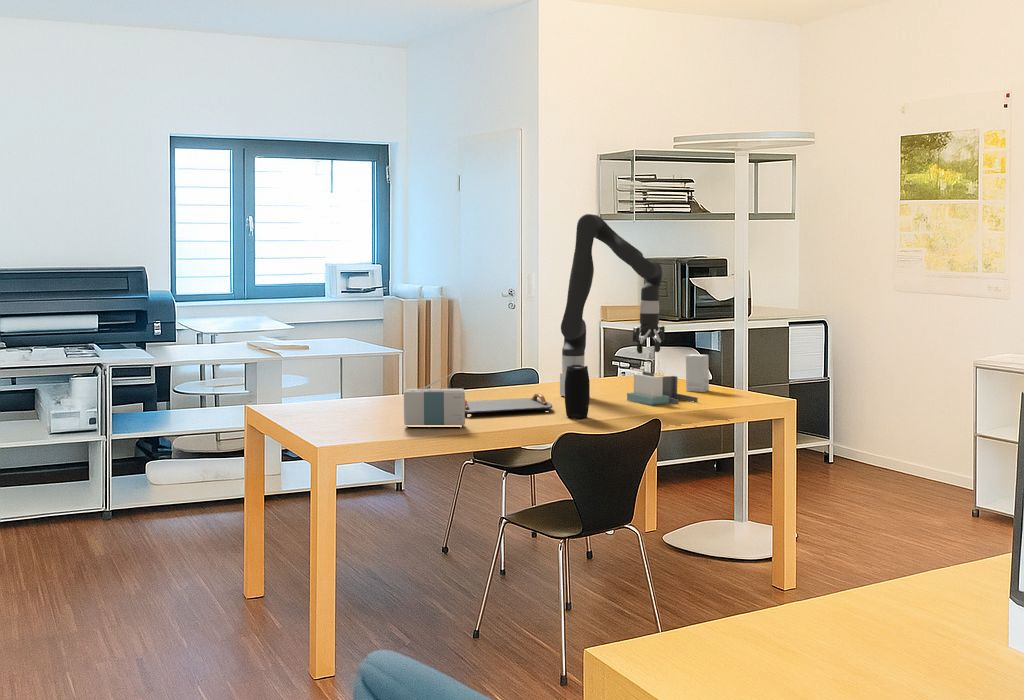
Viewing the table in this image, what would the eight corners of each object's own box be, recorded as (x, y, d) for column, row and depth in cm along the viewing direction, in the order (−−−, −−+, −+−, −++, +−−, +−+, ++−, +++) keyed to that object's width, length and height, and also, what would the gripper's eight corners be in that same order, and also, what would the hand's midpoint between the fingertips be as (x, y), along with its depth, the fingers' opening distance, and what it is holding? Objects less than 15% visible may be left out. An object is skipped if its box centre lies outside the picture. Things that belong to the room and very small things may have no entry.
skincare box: (709, 390, 443) (709, 354, 441) (703, 392, 438) (704, 356, 436) (690, 389, 448) (691, 353, 446) (684, 391, 442) (685, 355, 440)
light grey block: (652, 402, 406) (652, 374, 405) (633, 398, 416) (633, 371, 415) (662, 401, 409) (662, 373, 407) (643, 397, 419) (643, 370, 418)
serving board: (461, 420, 376) (460, 403, 375) (444, 410, 398) (444, 394, 397) (559, 414, 388) (559, 397, 388) (538, 404, 410) (538, 389, 410)
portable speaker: (593, 417, 377) (594, 366, 375) (573, 420, 372) (573, 368, 370) (580, 414, 384) (580, 363, 382) (560, 416, 379) (560, 365, 377)
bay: (676, 404, 406) (677, 382, 405) (652, 399, 419) (653, 377, 418) (697, 402, 411) (697, 380, 411) (673, 397, 424) (673, 375, 423)
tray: (651, 405, 404) (651, 398, 403) (627, 400, 417) (627, 393, 417) (669, 403, 408) (669, 396, 408) (644, 398, 422) (644, 391, 421)
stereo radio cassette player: (403, 429, 355) (403, 372, 353) (406, 425, 364) (405, 368, 361) (464, 429, 355) (464, 371, 353) (465, 425, 364) (465, 368, 361)
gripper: (657, 310, 415) (656, 350, 417) (629, 311, 408) (628, 352, 410) (669, 312, 409) (668, 352, 411) (641, 313, 402) (640, 354, 403)
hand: (648, 352), depth 410 cm, fingers open, 8 cm apart
